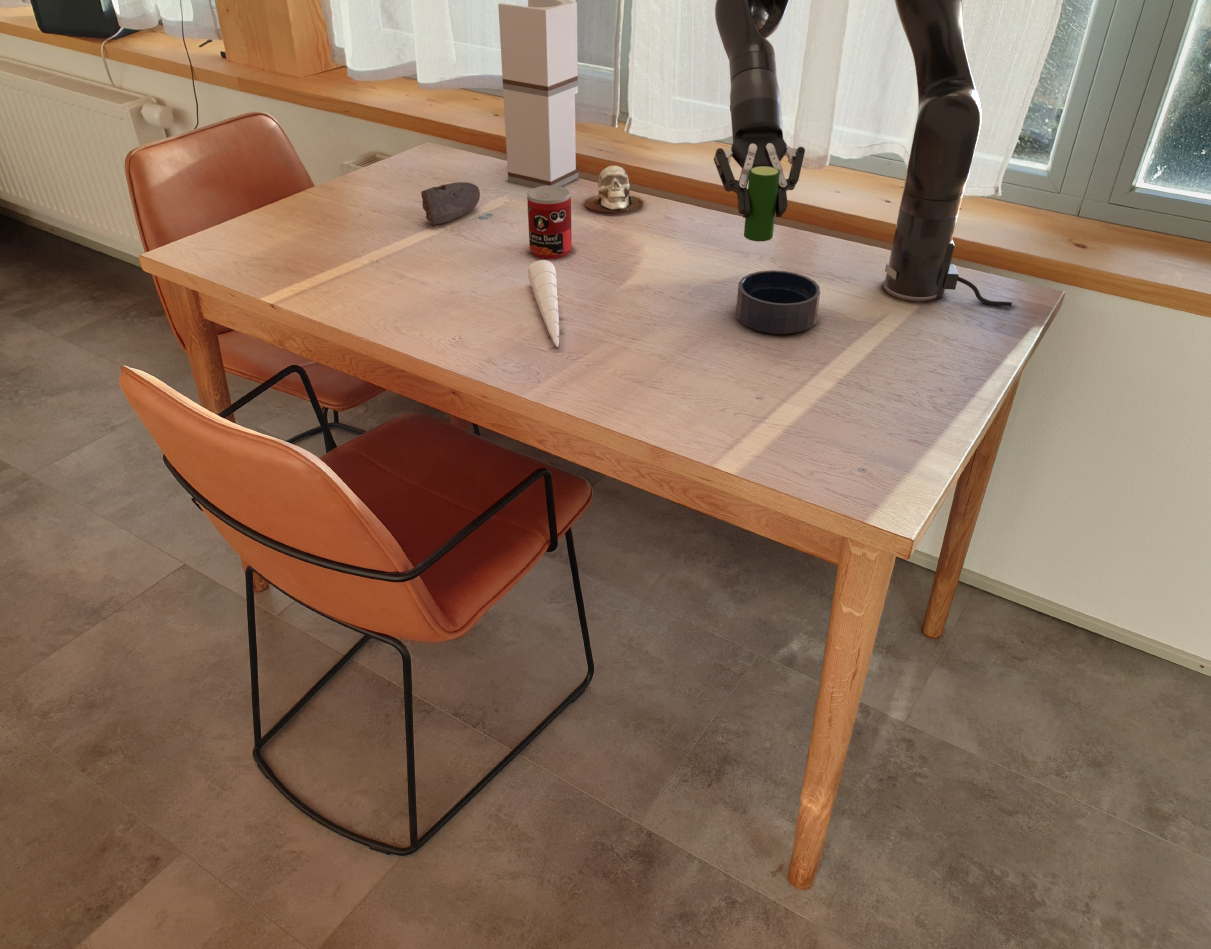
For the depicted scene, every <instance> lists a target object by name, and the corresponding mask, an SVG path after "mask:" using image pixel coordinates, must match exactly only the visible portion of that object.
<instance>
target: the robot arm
mask: <svg viewBox="0 0 1211 949" xmlns="http://www.w3.org/2000/svg"><path fill="white" fill-rule="evenodd" d="M790 2H791V0H716V1H715V6H714V18H715V24H716V27H717V31H718V34H719V37H720V41H721V42H722V46H723V49H724V52H725V54H726V57H727V59H728V64H729V66H728V67H729V79H730V80H729V81H730V90H729V91H730V92H729V112H730V118H731V120H730V121H731V134H732V144H731V146H730V147H729V148H726V149H724V148H721V147H719V148H716V151H715V154H714V157H713V162H714V165H715V167H716V168H715V169H716V170H717V173H718V175H719V178H720V180H721V183H722V186H723V189H724V191H726V192H733V193H735V194H736V197H737V210H738V213H739V215H742V218H743V219H745V218H748V217H749V214H750V200H749V189H748V183H749V171H750V169H751V168H754V167H760V166H766V167H772V168H776V169H778V170H779V172H780V174H779V183H778V193H777V202H776V211H775V218H782V217H783V215H784V214H785V212H787V209H788V207H789V206H788V194H787V192H788V191H794V189H795V188H796V186H797V184H798V182H799V180H800V175H801V171H802V166H803V163H804V162H803V161H804V158H805V154H806V149H805V147H804V146H798V147H797V148H794V147H790V146H788V144H787V142H786V141H785V139H784V130H783V128H784V127H783V116H782V103H781V102H782V101H781V91H780V87H779V83H778V76H777V75H778V74H777V73H778V72H777V63H776V62H777V61H776V52H775V49H774V48H775V47H774V46H773V45H772V43H771V42H770V41H769V40H768V39H767V38H769V37H770V36H772V35H773V34H774V33H775V32H776V31H777V30H778V28H779V27H780V26H781V23H782V21H783V19H784V16H785V14H786V11H787V9H788V7H789V4H790ZM894 4H895V7H896V11H897V14H898V18H899V20H900V23H901V26H902V29H903V31H904V34H905V36H906V40H907V42H908V44H909V47H910V49H911V53H912V57H913V61H914V68H915V75H916V86H917V96H918V97H917V100H918V104H917V106H918V108H917V117H916V122H915V127H914V133H913V138H912V144H911V149H910V152H909V159H908V164H907V168H906V172H905V177H904V183H903V188H902V194H901V199H900V204H899V209H898V215H897V219H896V224H895V229H894V235H893V240H892V243H891V244H892V245H891V250H890V253H889V254H890V255H889V260H888V264H887V263H886V264H885V268H884V272H885V273H886V274H885V280H884V283H883V289H884V291H885V292H886V293H887V294H889V296H892V297H894V298H897V299H900V300H903V301H904V300H905V301H909V302H929V301H934V300H942V299H943V297H944V292H945V290H956V288H957V285H958V284H957V283H958V282H959V283H961V284H963V285H965V286H967V287H969V288H970V289H971V290H972V291H973V292H974V295H975V297H976V299H977V300H978V301H979V302H981V303H983V304H985V305H990V306H996V307H997V306H999V307H1012V306H1013V302H1012V301H1003V300H1001V301H997V300H990V299H987V298H985V297H983V296H982V295H981V293H980V291H979V289H978V287H977V286H976V285H975V284H974V283H972V282H971V281H969V280H968V279H965V278H963V277H961V276H960V274H959V271H958V270H957V267H956V265H955V264H954V263H952V260H953V255H954V250H955V243H954V240H953V239H954V234H955V231H956V225H957V221H958V218H959V213H960V209H961V204H962V199H963V196H964V192H965V189H966V184H967V181H968V179H969V176H970V172H971V167H972V164H973V160H974V159H973V158H974V155H975V152H976V147H977V143H978V140H979V135H980V130H981V127H982V126H981V125H982V106H981V101H980V97H979V94H978V92H977V88H976V85H975V81H974V79H973V75H972V72H971V66H970V64H969V60H968V56H967V52H966V46H965V41H964V20H963V19H964V18H963V17H964V16H963V15H964V14H963V11H964V10H963V0H894ZM785 156H786V157H787V162H788V163H789V165H791V166H790V170H789V175H788V178H786V177H785V174H784V169H783V166H782V164H781V161H782V160H783V159H784V157H785ZM731 158H733V160H734V161H735V162H736V163H737V165H738V166H739V167H740V168H741V170H740V174H739V178H738V179H735V176H734V173H733V171H732V168H731V165H730V162H731Z"/></svg>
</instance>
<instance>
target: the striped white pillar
mask: <svg viewBox="0 0 1211 949" xmlns="http://www.w3.org/2000/svg"><path fill="white" fill-rule="evenodd" d="M497 6H498V22H499V43H500V57H501V58H500V62H501V77H502V78H501V79H502V95H503V96H502V97H503V112H504V130H505V144H506V145H505V147H506V148H505V149H506V165H507V167H506V168H507V181H508V182H510V183H514V184H519V185H523V186H527V187H532V188H536V187H540V186H560V187H563V186H565V185H566V184H568V183H571V182H572V181H575V180H576V179H578V178H580V168H579V167H577V164H576V163H577V160H576V159H577V158H576V156H577V155H576V154H577V153H576V94H578V93H579V72H578V71H579V68H578V66H579V65H578V64H579V63H578V61H579V60H578V59H579V58H578V56H579V55H578V2H577V1H574V0H527V6H525V5H524V6H523V5H518V4H517V5H516V4H509V3H501V2H500V3H498V5H497Z"/></svg>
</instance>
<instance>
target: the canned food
mask: <svg viewBox="0 0 1211 949" xmlns="http://www.w3.org/2000/svg"><path fill="white" fill-rule="evenodd" d="M526 196H527V197H526V198H527V200H526V202H527V205H526V206H527V220H528V221H527V222H528V223H527V224H528V241H529V242H528V244H529V249H530V250H529V251H530V253H531V254H532V255H533V256H534V257H537V258H540V259H543V260H555V259H560V258H563V257H566V256H567V255H568V254H570V252H571V250H572V243H573V242H572V240H573V239H572V194H571V190H570V189H569V188H566V187H564V186H540V187H536V188H535V187H532V188H531V189H530V190H528V192H527V195H526Z"/></svg>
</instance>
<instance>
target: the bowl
mask: <svg viewBox="0 0 1211 949" xmlns="http://www.w3.org/2000/svg"><path fill="white" fill-rule="evenodd" d="M821 293H822V290H821V286H820V285H819V284H818V283H817V282H816V281H815V280H814V279H812V278H810V277H808V276H806V275H803V274H801V273H797V272H792V271H786V270H773V269H772V270H771V269H770V270H760V271H756V272H751V273H748V274H747V275H745V276H743V277H741V279H740V280H739V282H738V284H737V295H736V305H735V316H736V318H737V319H738V320H739V322H740V323H742V324H743V325H745V326H746V327H748V328H750V329H753V330H754V331H758V332H760V333H763V334H764V333H765V334H771V335H790V334H795V333H799V332H802V331H806V330H808V329H809V328H811V327H813V326H814V325H815V323H816V322H817V318H818V313H819V306H820V299H821Z"/></svg>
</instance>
